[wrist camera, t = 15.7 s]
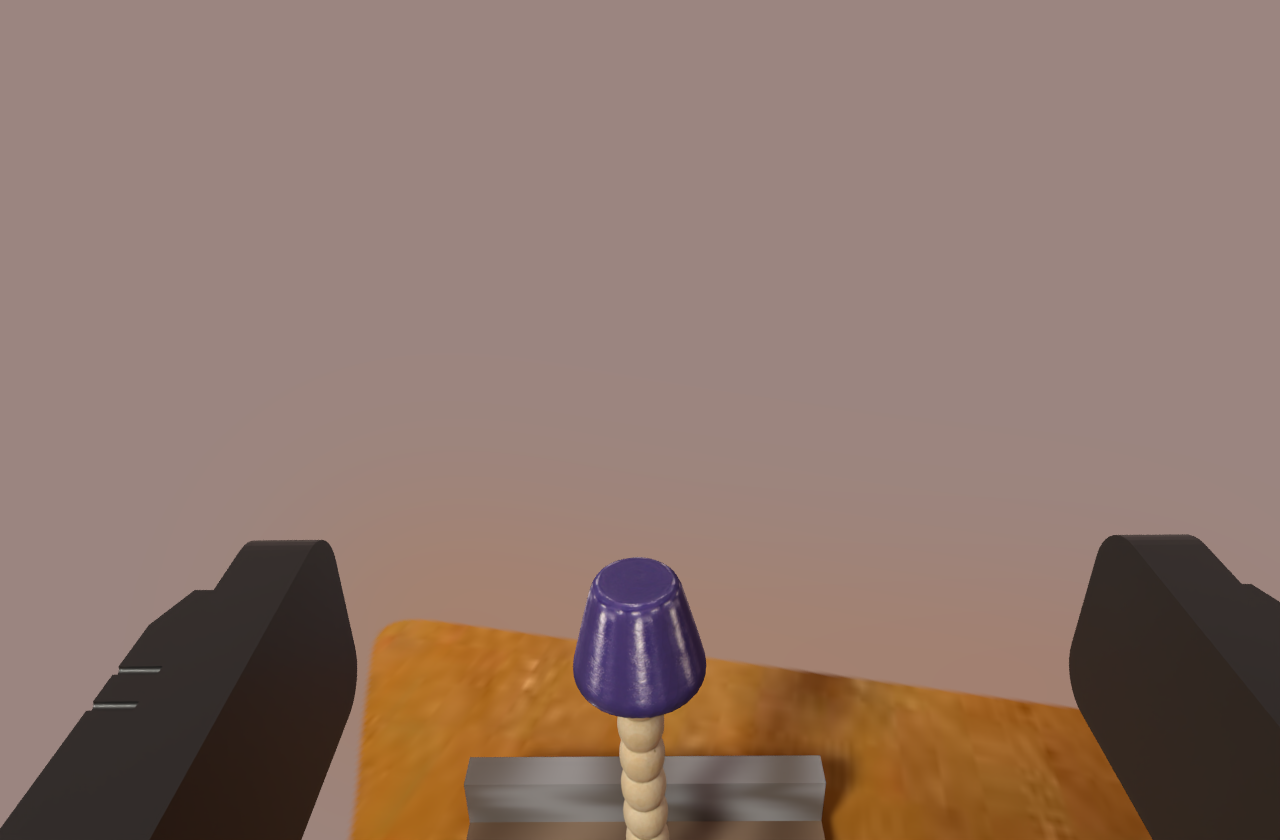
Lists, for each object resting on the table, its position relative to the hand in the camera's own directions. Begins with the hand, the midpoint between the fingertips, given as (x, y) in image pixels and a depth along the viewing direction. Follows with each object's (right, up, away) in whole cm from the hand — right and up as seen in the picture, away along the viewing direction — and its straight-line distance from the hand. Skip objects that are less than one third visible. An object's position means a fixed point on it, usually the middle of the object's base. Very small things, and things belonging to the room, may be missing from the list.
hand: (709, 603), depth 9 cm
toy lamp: (-1, -18, +28) cm, 33 cm away
